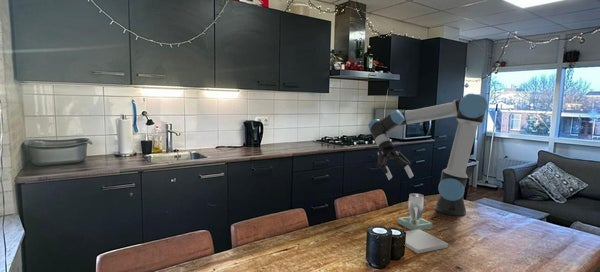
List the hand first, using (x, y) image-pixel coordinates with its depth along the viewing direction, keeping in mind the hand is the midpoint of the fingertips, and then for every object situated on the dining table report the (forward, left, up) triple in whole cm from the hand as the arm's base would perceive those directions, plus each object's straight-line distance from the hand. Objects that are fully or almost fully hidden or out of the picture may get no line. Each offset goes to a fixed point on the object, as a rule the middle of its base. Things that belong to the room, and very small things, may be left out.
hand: (401, 177), depth 160 cm
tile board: (+12, +26, -21) cm, 35 cm away
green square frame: (0, +11, -21) cm, 24 cm away
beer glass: (0, +11, -21) cm, 24 cm away
